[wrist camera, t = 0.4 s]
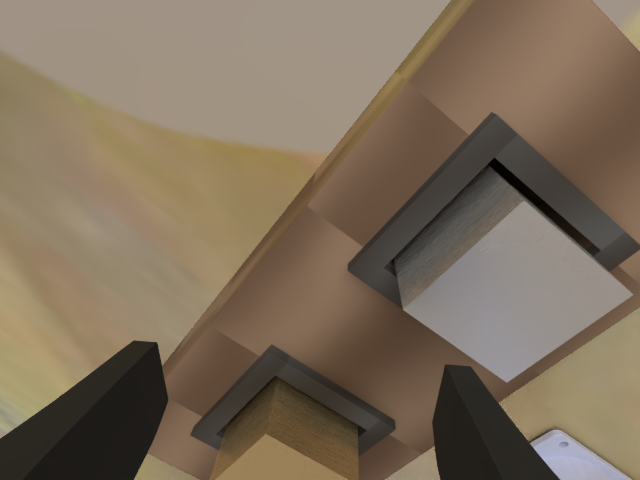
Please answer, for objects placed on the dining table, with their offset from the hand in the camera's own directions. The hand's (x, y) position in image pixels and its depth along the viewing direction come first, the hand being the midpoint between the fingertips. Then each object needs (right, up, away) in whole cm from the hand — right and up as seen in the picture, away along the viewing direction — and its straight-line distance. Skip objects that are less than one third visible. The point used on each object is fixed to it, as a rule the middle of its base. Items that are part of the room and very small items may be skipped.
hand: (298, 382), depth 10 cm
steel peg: (+6, +4, +5) cm, 9 cm away
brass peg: (-1, -4, +10) cm, 11 cm away
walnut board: (+3, +1, +10) cm, 11 cm away
